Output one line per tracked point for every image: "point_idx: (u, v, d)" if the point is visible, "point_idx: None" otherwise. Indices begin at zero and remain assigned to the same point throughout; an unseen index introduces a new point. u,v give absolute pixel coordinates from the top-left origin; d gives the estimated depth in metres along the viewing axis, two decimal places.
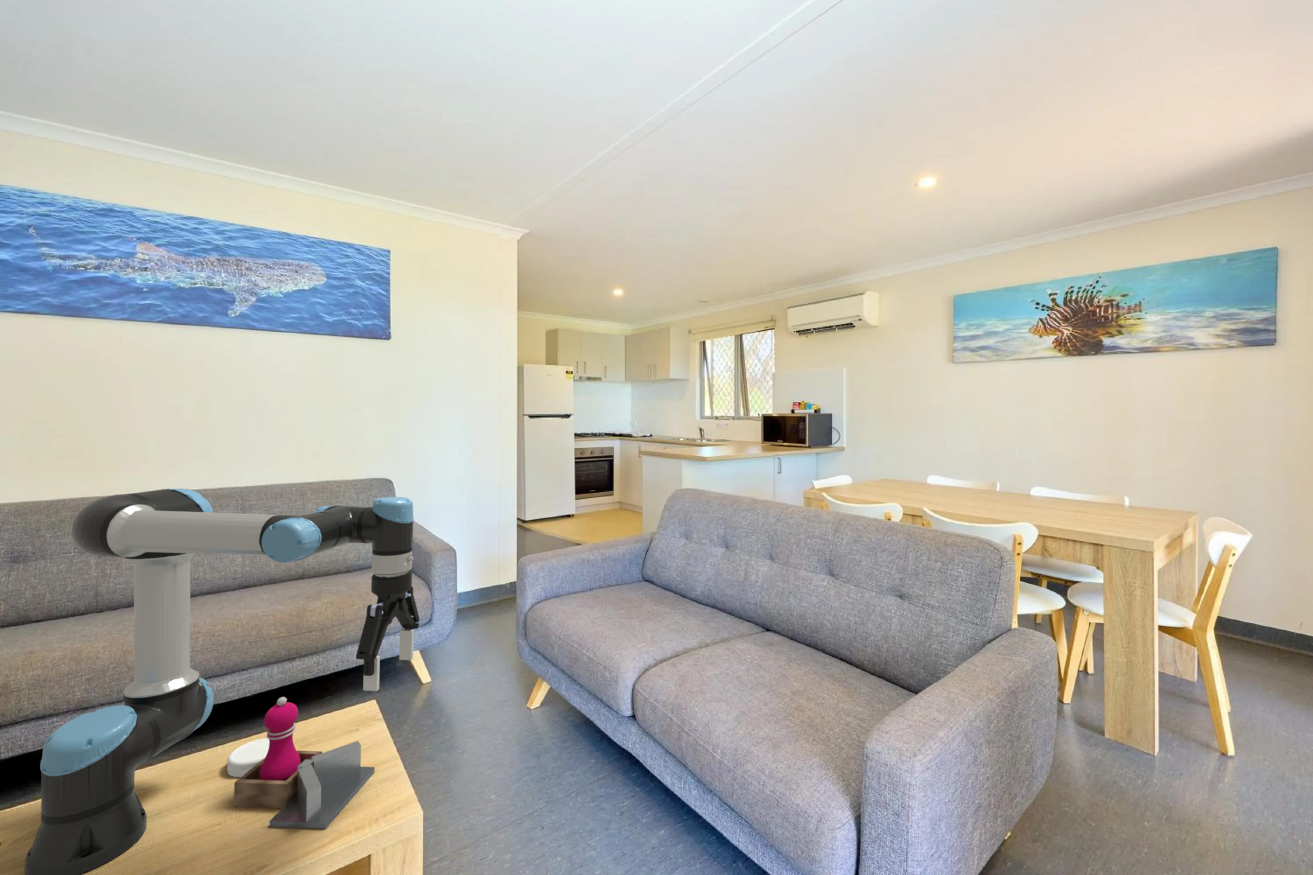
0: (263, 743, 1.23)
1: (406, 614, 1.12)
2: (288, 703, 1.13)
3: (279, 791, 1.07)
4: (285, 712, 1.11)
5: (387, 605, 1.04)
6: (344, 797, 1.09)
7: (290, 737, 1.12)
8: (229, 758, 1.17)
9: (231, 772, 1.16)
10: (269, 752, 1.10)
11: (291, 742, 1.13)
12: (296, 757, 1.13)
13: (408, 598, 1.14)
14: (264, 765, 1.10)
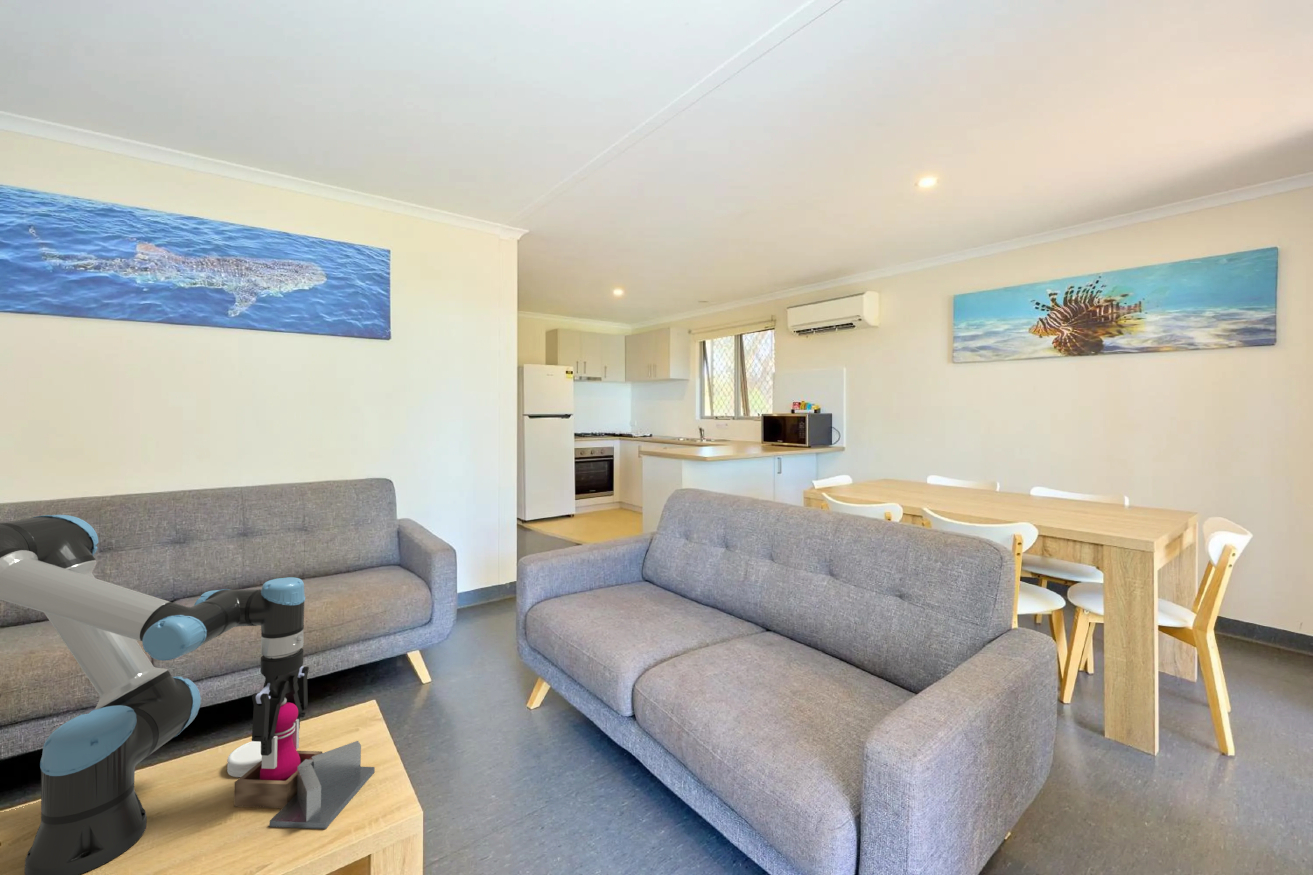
0: None
1: (294, 696, 1.14)
2: (288, 703, 1.13)
3: (279, 791, 1.07)
4: (285, 712, 1.11)
5: (274, 686, 1.09)
6: (344, 797, 1.09)
7: (290, 737, 1.12)
8: (229, 758, 1.17)
9: (231, 772, 1.16)
10: None
11: (291, 742, 1.13)
12: (296, 757, 1.13)
13: (301, 678, 1.17)
14: None
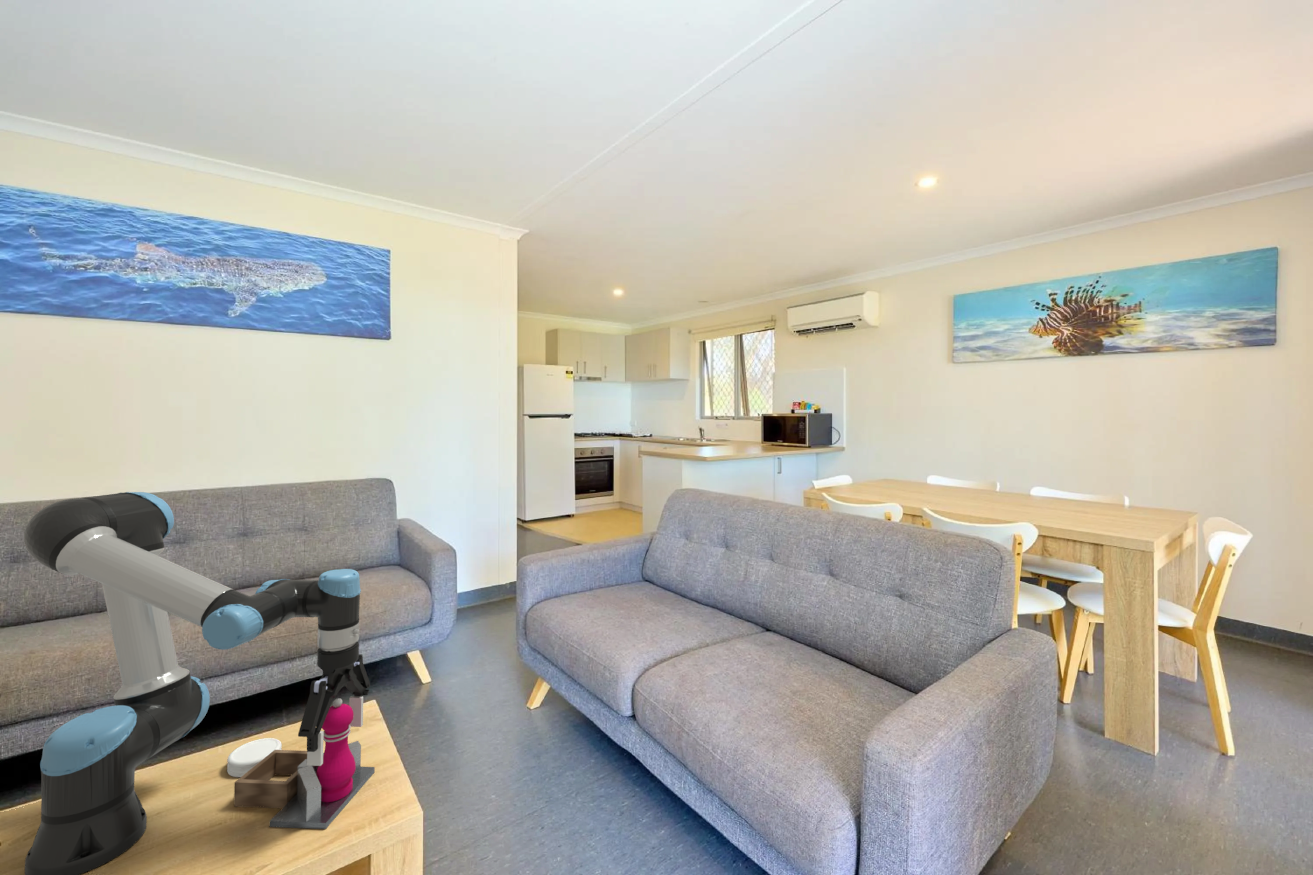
0: (263, 743, 1.23)
1: (354, 683, 1.14)
2: (343, 704, 1.11)
3: (279, 791, 1.07)
4: (341, 714, 1.08)
5: (332, 679, 1.06)
6: (344, 797, 1.09)
7: (346, 739, 1.10)
8: (229, 758, 1.17)
9: (231, 772, 1.16)
10: (325, 755, 1.08)
11: (347, 744, 1.10)
12: (352, 759, 1.11)
13: (357, 666, 1.16)
14: (320, 767, 1.07)
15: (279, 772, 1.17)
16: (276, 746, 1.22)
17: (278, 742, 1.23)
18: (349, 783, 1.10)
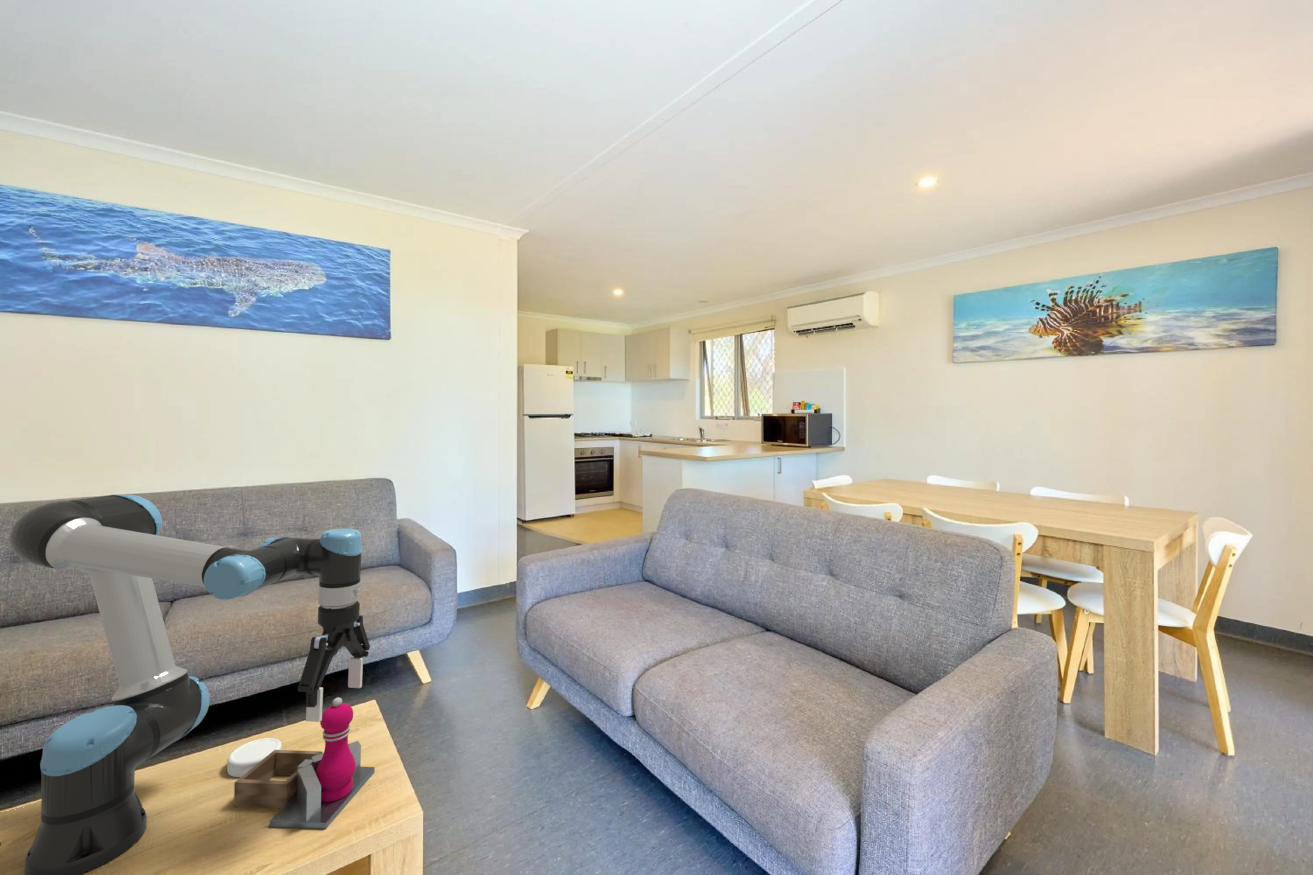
0: (263, 743, 1.23)
1: (354, 643, 1.14)
2: (343, 704, 1.11)
3: (279, 791, 1.07)
4: (341, 713, 1.09)
5: (332, 636, 1.06)
6: (344, 797, 1.09)
7: (346, 738, 1.10)
8: (229, 758, 1.17)
9: (231, 772, 1.16)
10: (325, 754, 1.08)
11: (346, 744, 1.10)
12: (351, 759, 1.11)
13: (357, 627, 1.16)
14: (320, 767, 1.08)
15: (279, 772, 1.17)
16: (276, 746, 1.22)
17: (278, 742, 1.23)
18: (349, 783, 1.10)
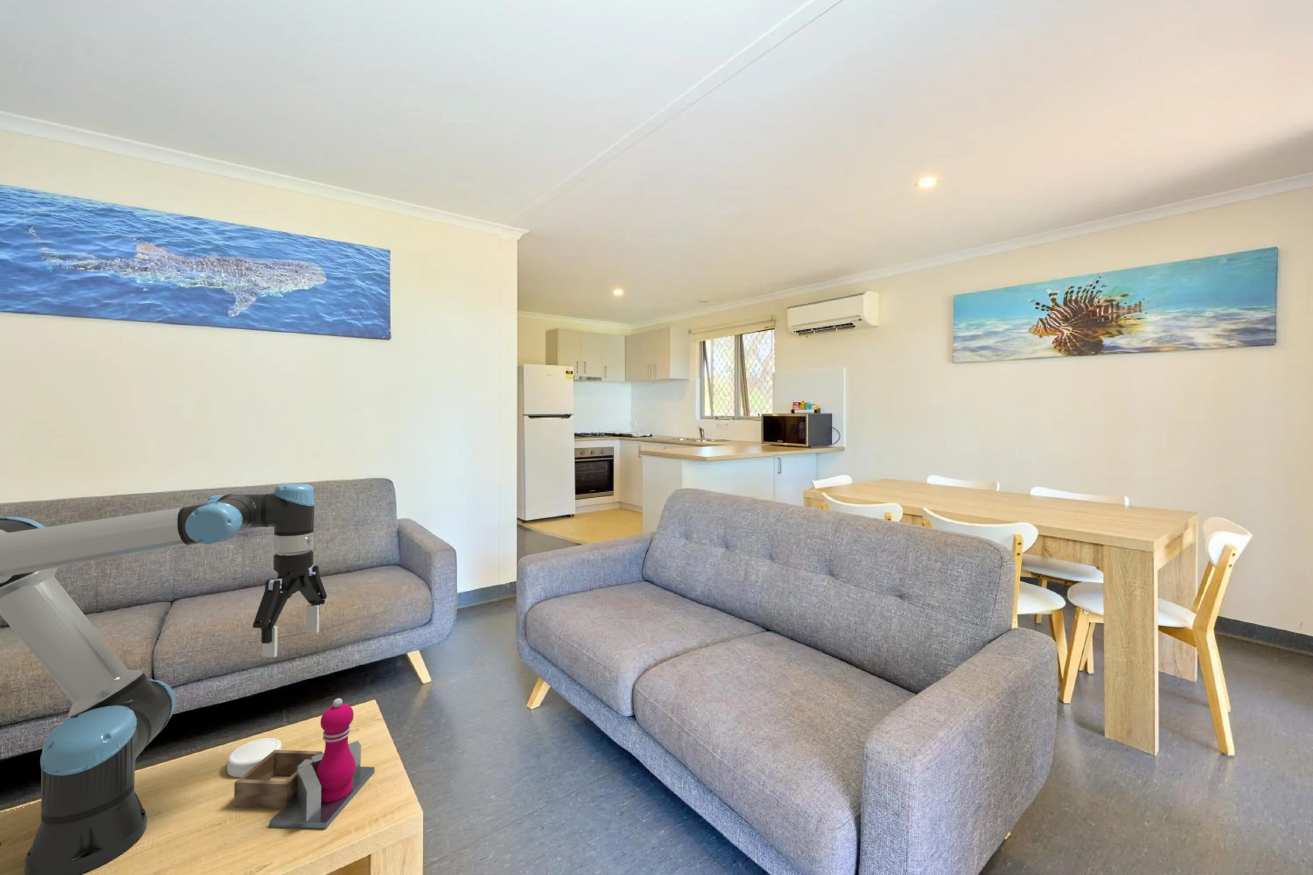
0: (263, 743, 1.23)
1: (310, 590, 1.23)
2: (343, 704, 1.11)
3: (279, 791, 1.07)
4: (341, 714, 1.08)
5: (286, 581, 1.15)
6: (344, 797, 1.09)
7: (346, 739, 1.10)
8: (229, 758, 1.17)
9: (231, 772, 1.16)
10: (325, 755, 1.08)
11: (347, 744, 1.10)
12: (352, 759, 1.11)
13: (313, 576, 1.25)
14: (320, 767, 1.07)
15: (279, 772, 1.17)
16: (276, 746, 1.22)
17: (278, 742, 1.23)
18: (349, 783, 1.10)
